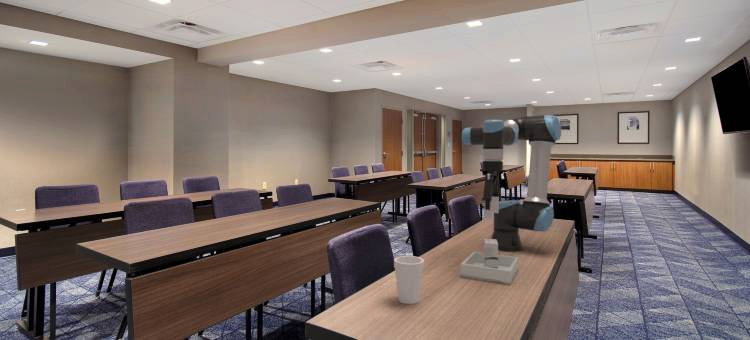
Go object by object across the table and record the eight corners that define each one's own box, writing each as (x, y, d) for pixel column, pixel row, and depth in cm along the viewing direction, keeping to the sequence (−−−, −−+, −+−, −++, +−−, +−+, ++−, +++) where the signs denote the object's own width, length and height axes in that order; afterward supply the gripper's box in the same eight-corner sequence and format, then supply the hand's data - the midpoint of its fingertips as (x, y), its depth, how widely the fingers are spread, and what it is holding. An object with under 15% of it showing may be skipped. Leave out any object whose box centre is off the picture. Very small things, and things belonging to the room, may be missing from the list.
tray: (473, 263, 166) (473, 251, 165) (518, 269, 157) (518, 257, 157) (460, 277, 148) (460, 264, 148) (510, 285, 139) (510, 271, 139)
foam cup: (392, 294, 130) (392, 256, 129) (419, 294, 130) (420, 255, 130) (396, 306, 120) (396, 264, 119) (426, 305, 121) (426, 264, 120)
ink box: (498, 274, 148) (498, 243, 147) (484, 273, 149) (485, 243, 148) (496, 267, 156) (496, 238, 156) (483, 266, 157) (483, 237, 157)
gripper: (489, 159, 163) (488, 210, 164) (475, 161, 141) (473, 219, 142) (508, 159, 159) (506, 211, 161) (496, 161, 137) (495, 221, 139)
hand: (491, 215), depth 151 cm, fingers open, 13 cm apart
